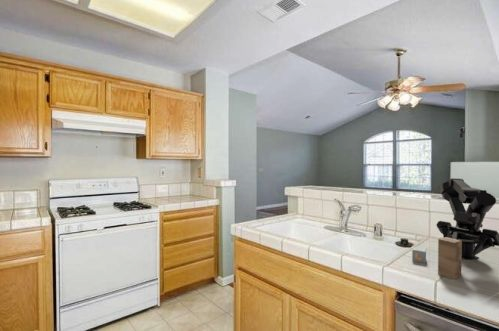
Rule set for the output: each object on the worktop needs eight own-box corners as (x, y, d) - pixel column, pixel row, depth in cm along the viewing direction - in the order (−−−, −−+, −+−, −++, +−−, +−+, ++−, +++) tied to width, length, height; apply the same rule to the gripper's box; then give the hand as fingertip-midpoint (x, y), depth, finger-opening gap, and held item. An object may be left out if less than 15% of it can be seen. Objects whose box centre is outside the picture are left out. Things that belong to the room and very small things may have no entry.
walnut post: (445, 271, 98) (445, 237, 97) (461, 276, 93) (461, 240, 93) (438, 273, 95) (438, 238, 95) (454, 279, 91) (454, 242, 91)
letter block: (413, 257, 112) (413, 246, 112) (426, 259, 109) (426, 248, 109) (412, 260, 108) (412, 249, 108) (425, 263, 105) (425, 252, 105)
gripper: (439, 200, 108) (423, 231, 103) (498, 207, 92) (483, 244, 87) (448, 218, 112) (434, 248, 107) (507, 227, 96) (493, 264, 91)
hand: (458, 250), depth 98 cm, fingers open, 9 cm apart
